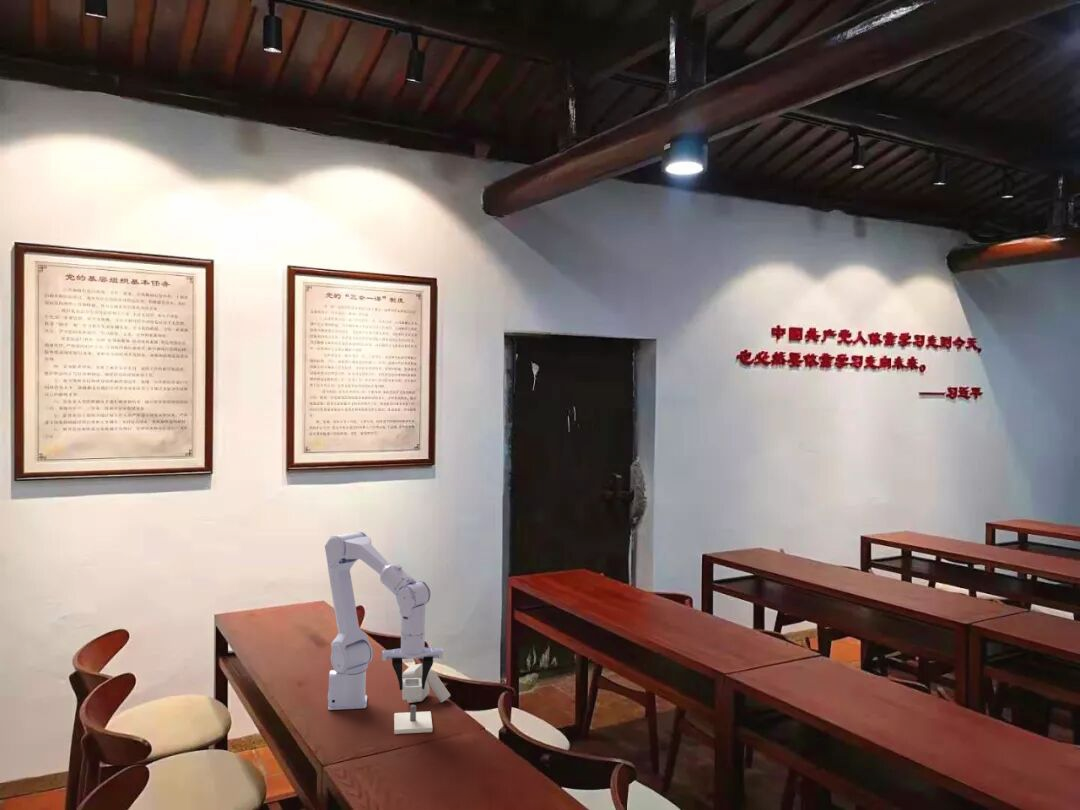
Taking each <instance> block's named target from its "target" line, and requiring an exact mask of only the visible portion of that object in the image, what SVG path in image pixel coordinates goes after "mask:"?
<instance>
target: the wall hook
mask: <svg viewBox="0 0 1080 810" xmlns="http://www.w3.org/2000/svg"><path fill="white" fill-rule="evenodd" d="M406 678H421V680H422V663H418V664H412V665H411V664H410V665H409V667H407V668H406V669H405V670H404V671H402V679H406ZM430 688H431V690H432V691H433V693H434V694H435V696H436V697H437V699H438V701H440V703H443V702H445V701H446V700H448V699H449V698H450V697H451V693H450V692H449V691H448V689H447V688H446V686H445V685H444V683H443V681H441V679H440V677H439V676H438V674H437V673H436V671H435V670H434V669H432V668H431V669H430V671H429V673H428V676H427V679H426V682H425V688H424V689H422V699H411V700H406V701H407V703H408V704H413V703H418V702H419V703H420V702H422V701H424V700H425V698H426V697H427V696H429V694H430Z"/></svg>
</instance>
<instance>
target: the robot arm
mask: <svg viewBox="0 0 1080 810" xmlns="http://www.w3.org/2000/svg"><path fill="white" fill-rule="evenodd" d="M324 551H325V556H326V562H327V569H328V570H327V571H328V572H327V573H328V578H329V584H330V589H331V596H332V603H333V609H334V616H335V620H336V627H337V635H336V637H335V638H334V639H333V641H332V642H331V643H330V649H331V652H330V663H331V667H332V669H331V670H329V674H328V675H329V676H328V691H327V700H328V701H327V702H328V703H327V706H328V707H327V709H328V710H329V711H333V710H334V711H336V710H355V709H356V710H357V709H358V710H359V709H366V708H367V706H368V705H367V704H368V695H367V694H366V690H367V689H366V684H367V683H366V682H367V680H366V679H367V678H366V674H367V671H366V670H367V668H369V663H371V661H372V660H373V655H374V652H373V648H372V645H371V643H370V641H369V636H368V634H367V633H365V632H364V631H362V630H361V629H360V624H359V619H358V614H357V607H356V600H355V595H354V593H355V592H354V587H353V582H352V575H351V569H352V567H353V566H354V564H355V563H356V562H357V561H358V560H361V561H362V562H363V563H365V564H366V565H367V566H368V567H370V568H371V569H372V570H373V571H375V572H376V573H377V574H379V575H380V578H379V580H380V582H381V583H382V584H383V586H385V587H386V588H387V589H388V590H389V591H390V592H391V593H392V594H393V595H395V598H396V603H397V604H398V607H399V613H400V616H401V617H400V618H401V623H400V624H401V625H400V648H394V649H387V650H386V649H385V650H383V649H382V654H381V661H383V662H385V661H387V660H391V665H392V668H393V670H394V672H395V674H396V677H397V680H398V686H399V690H400V691H402V689H403V680H402V679H403V678H402V675H403V660H412V659H413V660H414V659H415V660H416V659H418V660H419V659H422V660H421V662H422V663H421V664H422V680H421V681H422V689H424V688H425V682H426V679H427V676H428V673H429V671H430V669H432V667H433V665H434V659H439V660H441V659H443V658H444V657H443V652H444V650H443V648H437V647H425V645H426V643H425V642H426V641H425V636H426V635H425V634H426V605H427V604H428V603H429V602H430V600H431V590H430V587H429V585H428V584H427V583H426V582H425V581H423V580H417V579H414V578H413V577H412V576H411V575H410V574H408V573H407V572H406V570H404V569H403V567H402V566H401V565H400V564H396V563H393V564H390V563H389V562H388V560H387V559H386V558H385V557H384V556H383V555H382V554H381V553H380V552H379V551H378V550H377V549H376V548H375V546H373V544H372V538H371V537H369V536H368V535H367V534H366V532H364V531H361V530H359V531H354V532H351V533H344V534H339V535H332V536H330V537H329V539H328V540H327V542H326V544H325V545H324Z"/></svg>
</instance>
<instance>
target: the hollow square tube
mask: <svg viewBox="0 0 1080 810" xmlns="http://www.w3.org/2000/svg"><path fill="white" fill-rule="evenodd" d="M402 680H403V689H402V690H401V691H402V693H401V695H402V697H401V698H402V701H404V700H406V701H407V700H411V699H422V681H421V678H406V679H403V678H402Z"/></svg>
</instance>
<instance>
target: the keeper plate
mask: <svg viewBox="0 0 1080 810" xmlns="http://www.w3.org/2000/svg"><path fill="white" fill-rule="evenodd" d="M393 716H394V717H393V721H394V723H393V724H394V725H393V728H394V729H393V733H394V735H400V734H417V733H419V734H420V733H432V732H433V721H432V713H431V710H430V711H429V710H428V711H417V705H416V704H411V705H410V710H409V712H395V713H394V714H393Z"/></svg>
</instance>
